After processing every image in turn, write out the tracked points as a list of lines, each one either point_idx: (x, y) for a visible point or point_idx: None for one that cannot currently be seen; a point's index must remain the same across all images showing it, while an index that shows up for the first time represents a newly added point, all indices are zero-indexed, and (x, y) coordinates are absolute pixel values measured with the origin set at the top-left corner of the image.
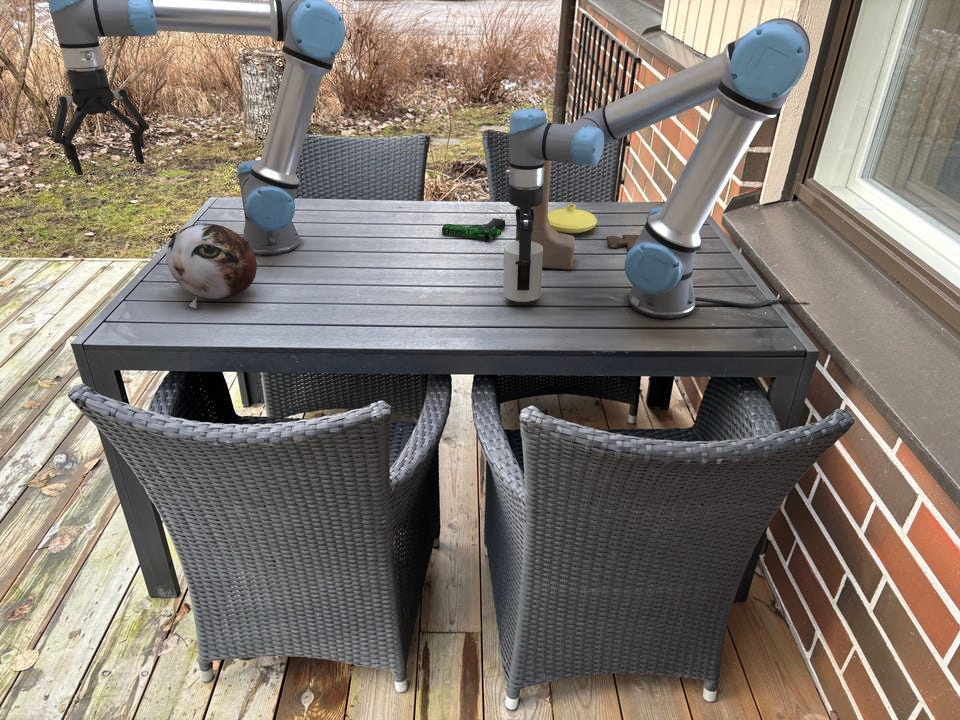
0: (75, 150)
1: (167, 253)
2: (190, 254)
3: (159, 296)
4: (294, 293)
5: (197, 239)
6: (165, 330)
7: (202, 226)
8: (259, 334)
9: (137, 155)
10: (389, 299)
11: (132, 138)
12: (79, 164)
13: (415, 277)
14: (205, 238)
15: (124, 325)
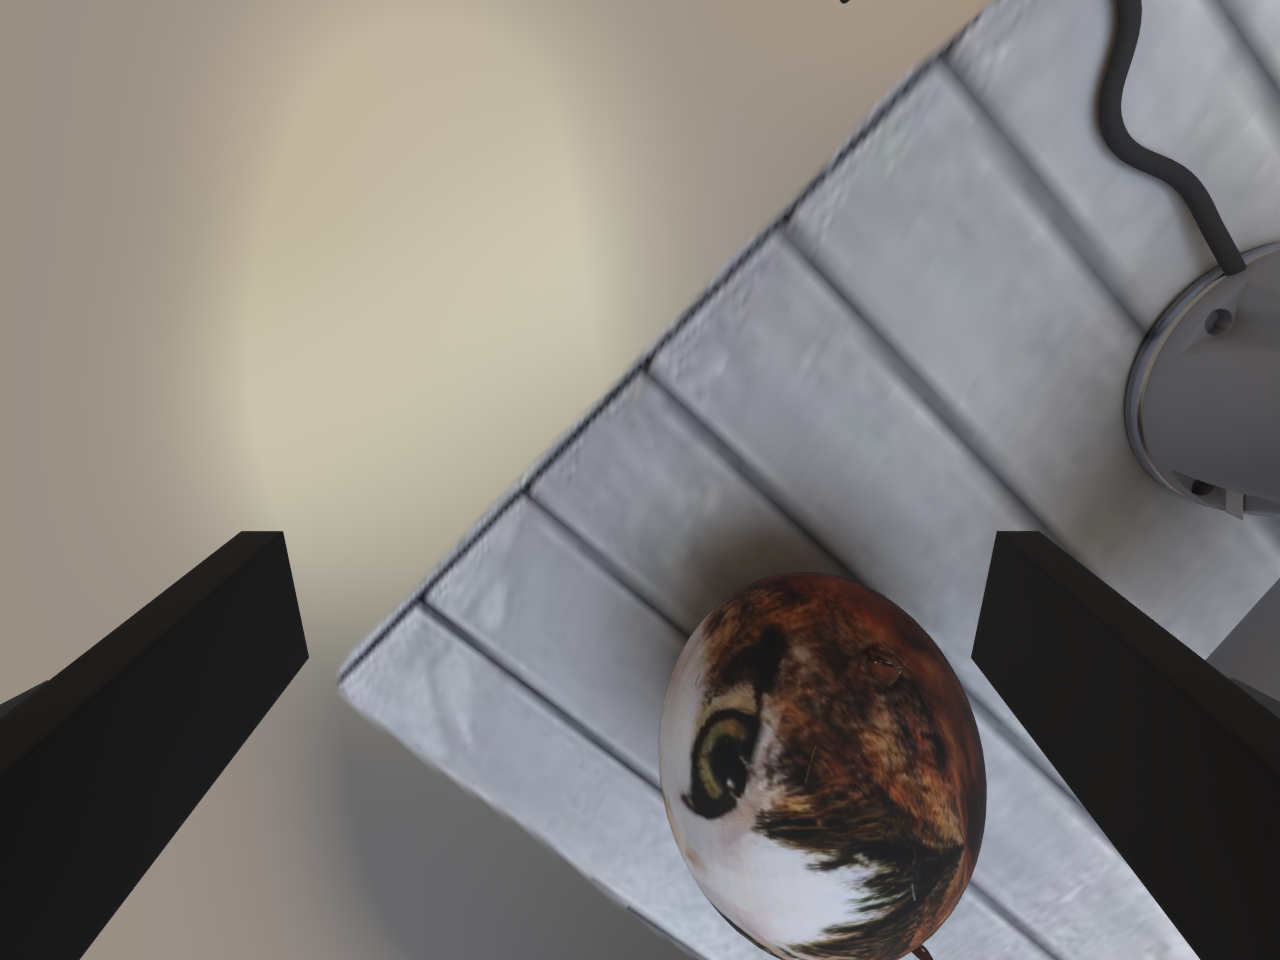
0: (93, 917)
1: (676, 743)
2: (709, 898)
3: (635, 542)
4: None
5: (767, 936)
6: (550, 757)
7: (847, 909)
8: None
9: (1032, 657)
10: (1098, 955)
11: (1229, 809)
12: (235, 743)
13: None
14: (794, 955)
15: (464, 661)
